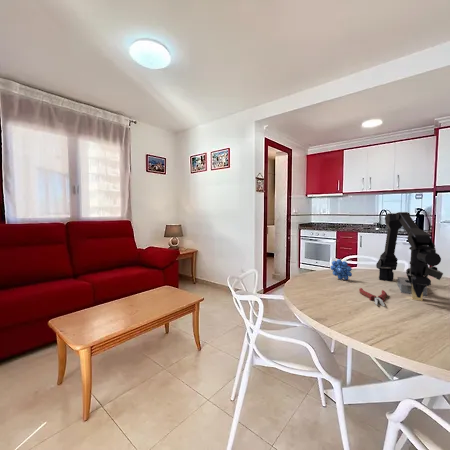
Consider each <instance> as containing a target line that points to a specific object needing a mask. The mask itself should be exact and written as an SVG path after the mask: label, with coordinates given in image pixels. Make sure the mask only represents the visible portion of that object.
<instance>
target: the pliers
mask: <svg viewBox="0 0 450 450" xmlns="http://www.w3.org/2000/svg"><path fill="white" fill-rule="evenodd" d="M358 291H359V294H360V295H361V296H363V297H365V298H368V299H369V301H372V302H374V304H375V305H376V306H378V304H379V305H381V306H383V307H386V304H385V299H387V297H388V294H387V292H386V291H385V290H384V289H382V290H381V294H379V295H374V294H372V293H370V292H367V291H366V290H364V289H363V287H360V288H359V289H358Z"/></svg>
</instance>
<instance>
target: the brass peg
mask: <svg viewBox="0 0 450 450" xmlns="http://www.w3.org/2000/svg"><path fill="white" fill-rule="evenodd" d="M410 298H411V300H414V301H421V302H423V298H424V297H423V292H422V295H421V297H420V298H418V297H417V295H416V293H415V290H414V288H413V285H412V287H411V294H410Z"/></svg>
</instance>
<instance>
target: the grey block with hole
mask: <svg viewBox="0 0 450 450" xmlns="http://www.w3.org/2000/svg"><path fill="white" fill-rule="evenodd" d="M396 284H397V286H398V288H399V291H400V293H402V294H410V295H411V287H412V286H411V284H410V281H409V279H408V277H403V276H397V283H396ZM423 296H424V297H427V296H428V286H427V287H425V288H424V290H423Z"/></svg>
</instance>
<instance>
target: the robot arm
mask: <svg viewBox="0 0 450 450" xmlns="http://www.w3.org/2000/svg"><path fill="white" fill-rule="evenodd" d="M384 221H385V225H386V227H387V232H386V240H385V245H384V251H383V252H382V253H381V254H380V257H379V259H378V261H377V262H376V264H375V267H376V269H378V270H379V271H378V280H379V281H386V282H393V280H394V274H395V273H394V271H396V270H397V267H398V257H396V254H395V251H396V247H397V240H398V236H399V235H398V234H399V230H400V229H401V228H402V227H403V229H404V230H405V232H406V233H407V238H406V239H407V242H408V244H409V245H410V247H409V249H408V250H410V261H409V265H410V266H409V268H407V269H406V270H405V272H406V276H407V277H406V278H408V279H409V281H410V284H411V286H412V285H413V288H414V290H415V293H416V295H417V297H418V298H420V297H421V295H422V292H423V290H424V288H425V287H427V288H428V287H429V286H431V284H432V280H431V278H429V277H432V278H434V279H436V280H439V281H441V279H442V277H443V276H444V273H443V272H442V271H440V270H439V269H438V267H436V266H437V265H439V264H441V260H442V257H441V256H440V254H438V253H437V252H436V251H437V250H436V245H435V244H434V242H433V240H432V238H431V236H430V235H429V233H428V232H426V231H425V230H422V229H421V228H419V227H418V225H417V223H416V222H415V220H413V218H412V217H411V214H410V212H409V211H408V212H407V211H406V212H405V211H400V212H398V211H397V212H394V213H391V212H389V213H387V214H386V215H385V217H384Z"/></svg>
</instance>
